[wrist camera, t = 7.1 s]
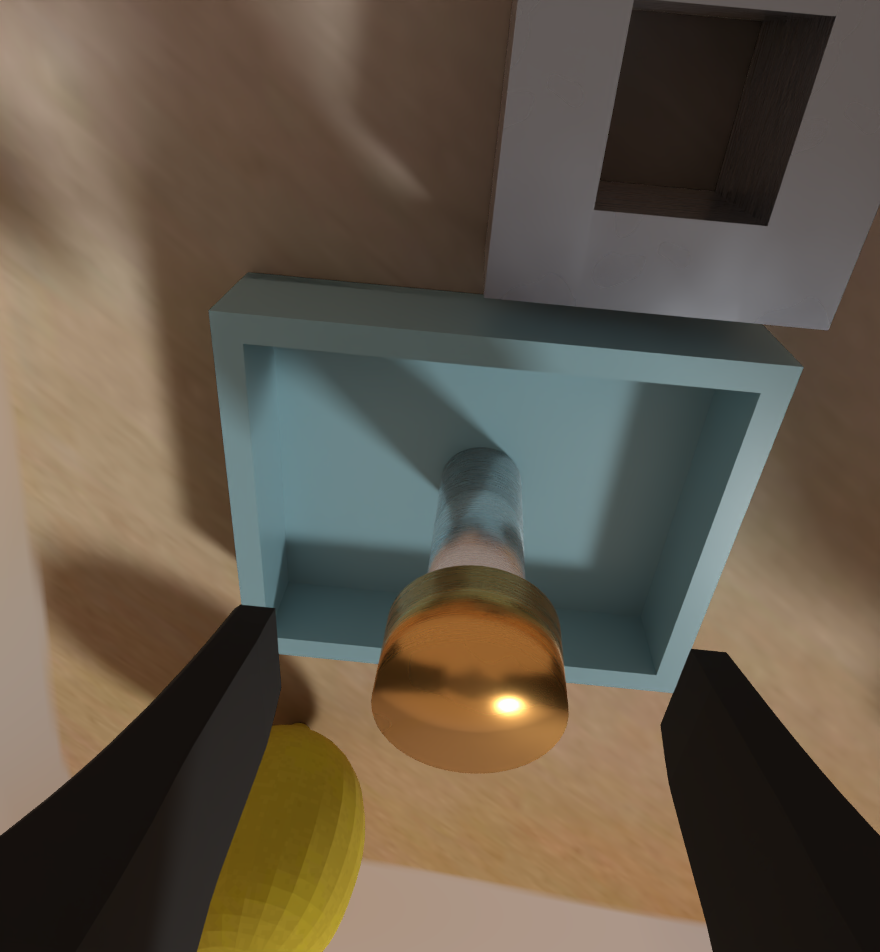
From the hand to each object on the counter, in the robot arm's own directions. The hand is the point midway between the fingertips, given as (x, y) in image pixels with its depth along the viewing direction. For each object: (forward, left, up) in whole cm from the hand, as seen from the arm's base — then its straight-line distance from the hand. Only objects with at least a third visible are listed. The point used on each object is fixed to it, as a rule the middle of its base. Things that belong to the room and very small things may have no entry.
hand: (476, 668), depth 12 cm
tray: (0, 0, -6) cm, 6 cm away
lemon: (-11, +5, -7) cm, 14 cm away
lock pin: (0, 0, -6) cm, 6 cm away
